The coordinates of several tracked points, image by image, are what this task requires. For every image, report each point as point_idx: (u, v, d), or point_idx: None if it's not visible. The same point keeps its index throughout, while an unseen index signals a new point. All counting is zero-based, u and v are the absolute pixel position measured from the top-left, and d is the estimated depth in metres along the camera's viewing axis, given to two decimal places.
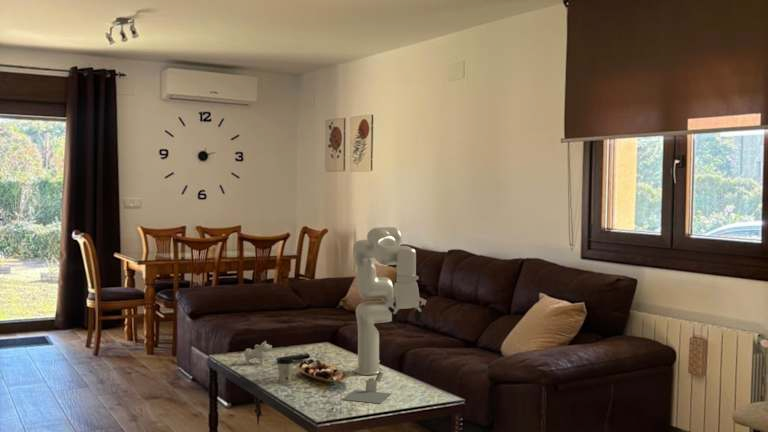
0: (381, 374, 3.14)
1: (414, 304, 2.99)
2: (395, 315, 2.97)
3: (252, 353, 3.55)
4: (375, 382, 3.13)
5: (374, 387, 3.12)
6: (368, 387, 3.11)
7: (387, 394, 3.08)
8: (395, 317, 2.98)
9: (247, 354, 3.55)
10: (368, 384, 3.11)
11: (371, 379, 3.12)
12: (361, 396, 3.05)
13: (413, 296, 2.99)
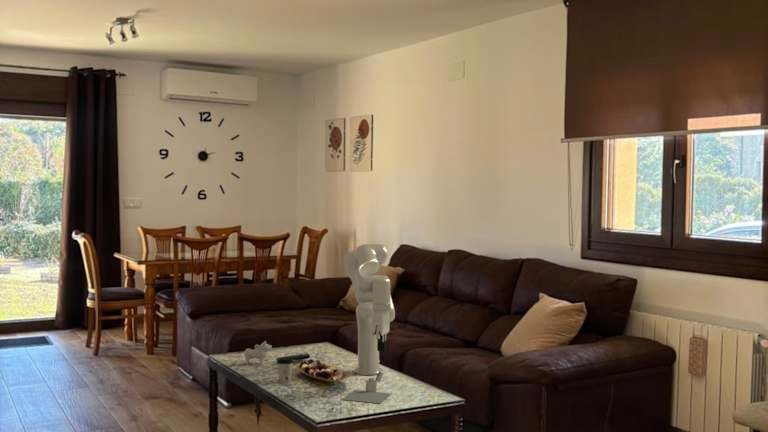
0: (381, 374, 3.14)
1: (388, 329, 3.21)
2: (384, 343, 3.19)
3: (252, 353, 3.55)
4: (375, 382, 3.13)
5: (374, 387, 3.12)
6: (368, 387, 3.11)
7: (387, 394, 3.08)
8: (383, 345, 3.19)
9: (247, 354, 3.55)
10: (368, 384, 3.11)
11: (371, 379, 3.12)
12: (361, 396, 3.05)
13: (388, 322, 3.21)
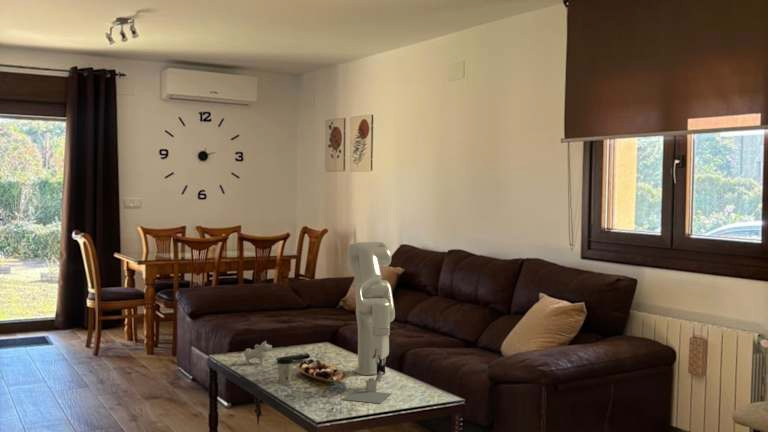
0: (381, 374, 3.14)
1: (387, 352, 3.22)
2: (383, 367, 3.19)
3: (252, 353, 3.55)
4: (375, 382, 3.13)
5: (374, 387, 3.12)
6: (368, 387, 3.11)
7: (387, 394, 3.08)
8: (383, 368, 3.19)
9: (247, 354, 3.55)
10: (368, 384, 3.11)
11: (371, 379, 3.12)
12: (361, 396, 3.05)
13: (387, 345, 3.21)
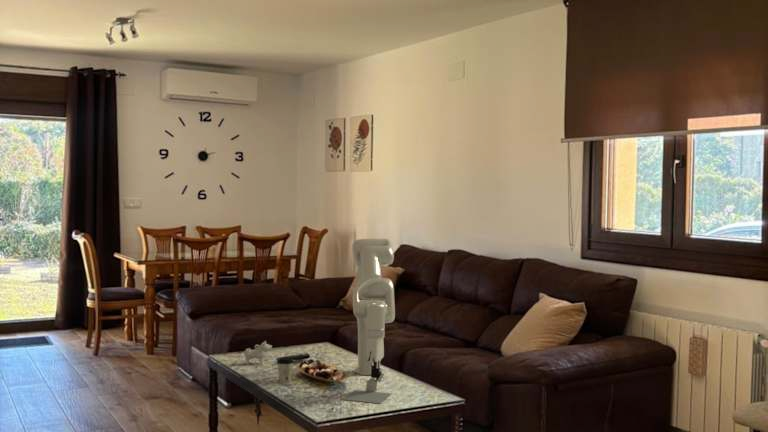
0: (382, 375, 3.12)
1: (382, 355, 3.15)
2: (378, 370, 3.12)
3: (252, 353, 3.55)
4: (375, 383, 3.12)
5: (374, 387, 3.12)
6: (368, 388, 3.11)
7: (387, 394, 3.08)
8: (377, 371, 3.12)
9: (247, 354, 3.55)
10: (368, 385, 3.11)
11: (372, 380, 3.11)
12: (361, 396, 3.05)
13: (382, 348, 3.14)
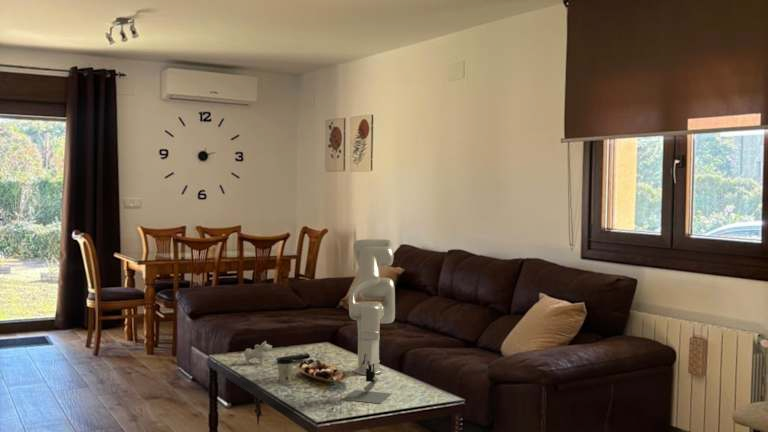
0: (376, 381, 3.05)
1: (377, 358, 3.09)
2: (373, 373, 3.06)
3: (252, 353, 3.55)
4: (372, 386, 3.08)
5: (372, 387, 3.10)
6: (367, 391, 3.09)
7: (387, 394, 3.08)
8: (372, 375, 3.06)
9: (247, 354, 3.55)
10: (367, 391, 3.08)
11: (368, 388, 3.07)
12: (361, 396, 3.05)
13: (377, 351, 3.08)
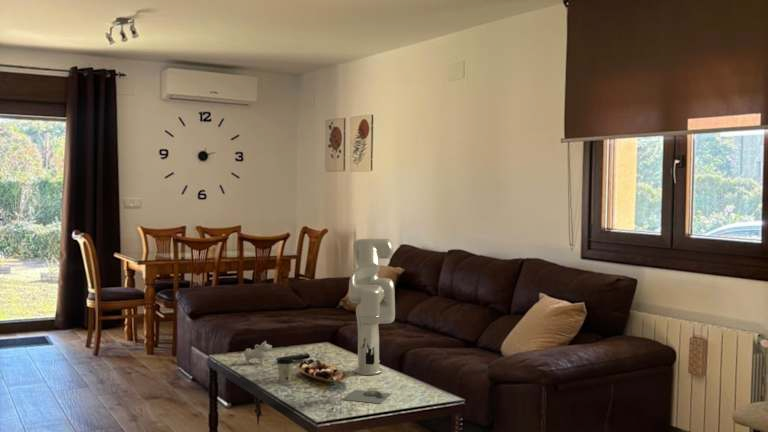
0: None
1: (377, 341, 3.10)
2: (372, 356, 3.07)
3: (252, 353, 3.55)
4: None
5: None
6: None
7: (387, 394, 3.08)
8: (372, 358, 3.07)
9: (247, 354, 3.55)
10: None
11: (371, 394, 3.06)
12: (361, 396, 3.05)
13: (377, 334, 3.09)
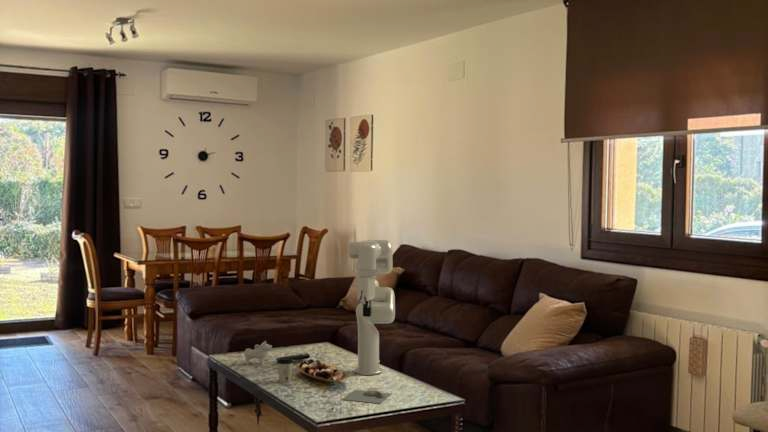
0: None
1: (373, 295, 3.24)
2: (369, 309, 3.22)
3: (252, 353, 3.55)
4: None
5: None
6: None
7: (387, 394, 3.08)
8: (369, 310, 3.22)
9: (247, 354, 3.55)
10: None
11: (371, 394, 3.06)
12: (361, 396, 3.05)
13: (374, 288, 3.24)
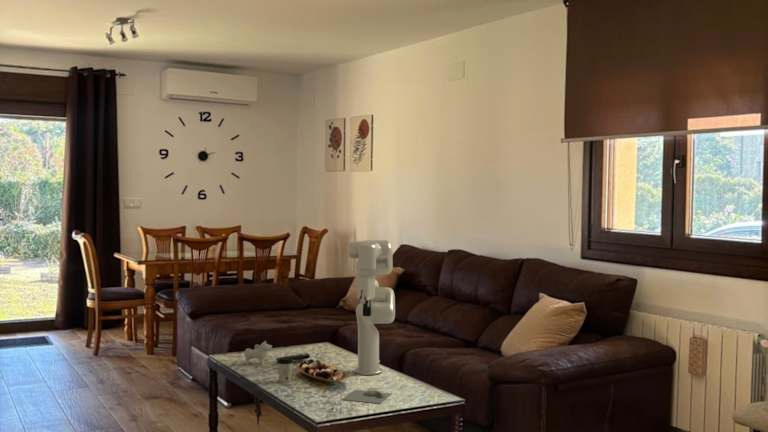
0: None
1: (373, 294, 3.25)
2: (369, 308, 3.22)
3: (252, 353, 3.55)
4: None
5: None
6: None
7: (387, 394, 3.08)
8: (369, 310, 3.22)
9: (247, 354, 3.55)
10: None
11: (371, 394, 3.06)
12: (361, 396, 3.05)
13: (373, 287, 3.24)
